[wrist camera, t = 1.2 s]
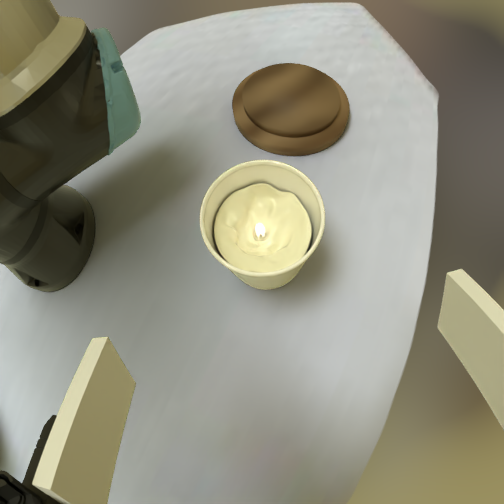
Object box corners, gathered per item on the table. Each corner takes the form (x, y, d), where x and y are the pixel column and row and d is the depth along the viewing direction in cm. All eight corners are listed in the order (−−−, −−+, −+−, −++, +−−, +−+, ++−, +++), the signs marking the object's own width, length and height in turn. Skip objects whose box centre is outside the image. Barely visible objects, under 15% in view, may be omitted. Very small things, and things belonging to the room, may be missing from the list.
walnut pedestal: (210, 116, 42) (206, 100, 38) (282, 60, 44) (281, 44, 41) (301, 178, 38) (303, 163, 35) (367, 109, 40) (372, 93, 37)
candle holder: (242, 202, 38) (229, 146, 26) (321, 229, 36) (340, 181, 25) (209, 278, 36) (178, 248, 24) (291, 310, 34) (300, 296, 22)
